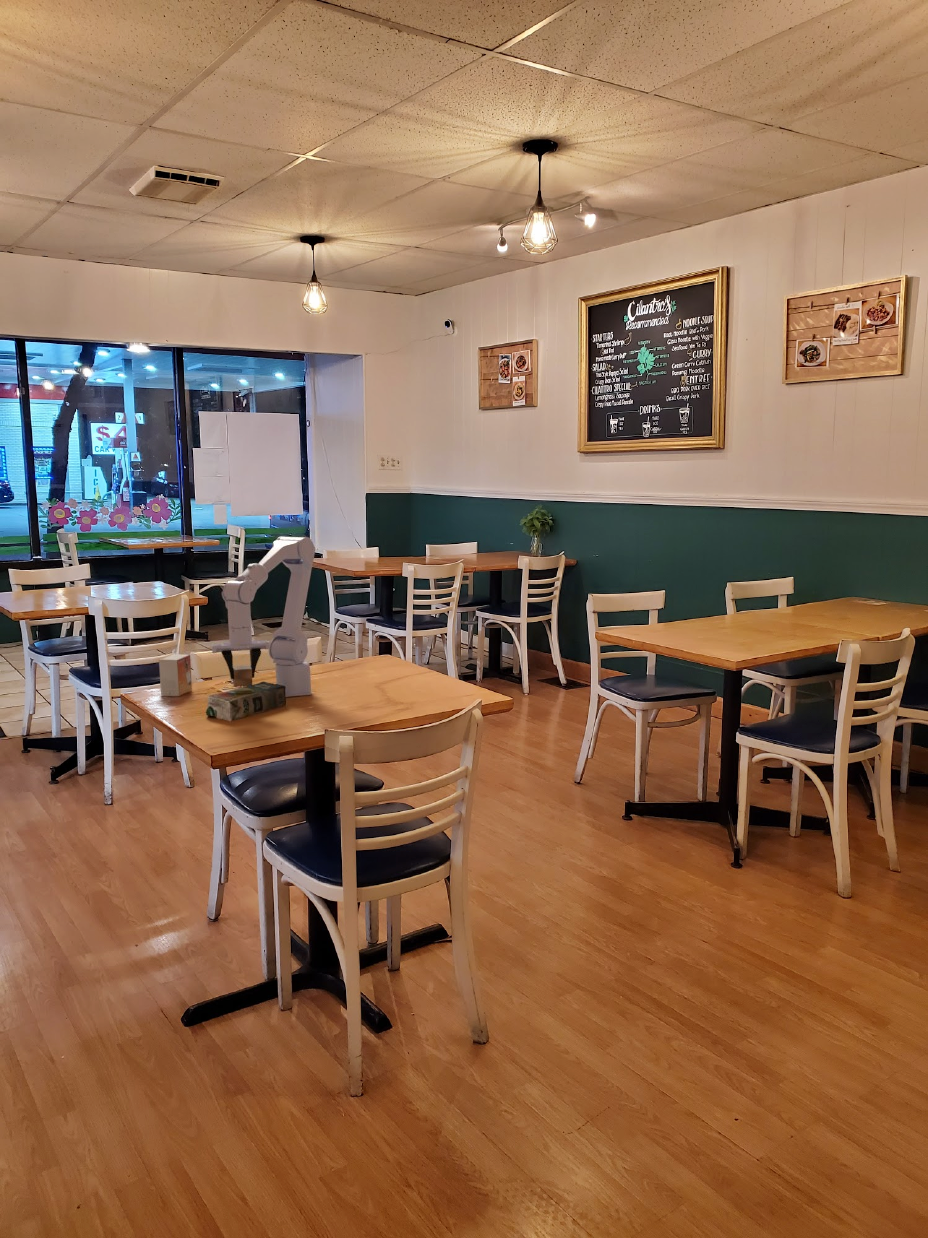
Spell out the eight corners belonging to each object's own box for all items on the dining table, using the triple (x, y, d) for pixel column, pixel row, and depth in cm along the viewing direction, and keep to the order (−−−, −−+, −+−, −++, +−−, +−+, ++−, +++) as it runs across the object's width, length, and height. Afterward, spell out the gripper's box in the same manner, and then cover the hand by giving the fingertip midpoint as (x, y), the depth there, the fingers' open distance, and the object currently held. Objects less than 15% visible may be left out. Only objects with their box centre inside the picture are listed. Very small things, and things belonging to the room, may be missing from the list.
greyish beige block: (250, 681, 247) (249, 665, 247) (252, 685, 243) (251, 668, 242) (232, 683, 246) (232, 666, 245) (234, 686, 242) (234, 669, 241)
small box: (178, 697, 260) (176, 660, 258) (160, 696, 261) (158, 659, 259) (192, 690, 267) (190, 654, 266) (174, 689, 268) (172, 653, 267)
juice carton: (228, 723, 234) (227, 699, 233) (203, 717, 239) (201, 694, 239) (287, 707, 250) (286, 684, 249) (262, 702, 255) (261, 680, 255)
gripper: (212, 631, 236) (215, 683, 238) (270, 627, 241) (272, 678, 243) (210, 626, 243) (212, 677, 245) (266, 623, 247) (268, 673, 249)
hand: (242, 677), depth 244 cm, fingers closed on greyish beige block, 4 cm apart
